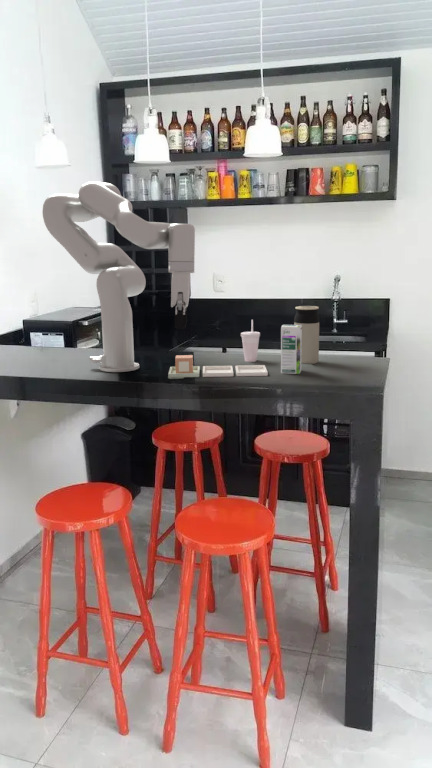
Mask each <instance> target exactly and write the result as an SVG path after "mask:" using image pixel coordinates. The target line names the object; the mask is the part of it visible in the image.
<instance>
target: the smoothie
mask: <svg viewBox="0 0 432 768" xmlns="http://www.w3.org/2000/svg"><path fill="white" fill-rule="evenodd" d="M250 322H251V329H250V331H243V332H240V337H241V340H242V341H241V342H242V351H243V356H244V358H243V359H244V362H247V363H254V362H257V359H258V350H259V344H260V343H259V342H260V337H261V332H259V331H254V319H251V321H250Z"/></svg>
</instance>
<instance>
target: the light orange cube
mask: <svg viewBox="0 0 432 768" xmlns="http://www.w3.org/2000/svg"><path fill="white" fill-rule="evenodd" d="M193 358H194V355H193V354H188V355H187V354H186V355H185V354H184V355H181V354H180V355H179V354H178V355H175V363H174V367H175V368H176V373H193V366H194V359H193Z"/></svg>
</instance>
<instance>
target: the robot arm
mask: <svg viewBox="0 0 432 768" xmlns="http://www.w3.org/2000/svg"><path fill="white" fill-rule="evenodd" d="M42 217H43V222H44V225H45V227H46V230H47V231H48V232H49V234H50V235H51V236H52V238H54V239H55V240H56V241H57V242H58V243H59V244H60V245H61V246H62V247H63V248H64V249H65V250H66V252H68V254H69V255H70V256H71V258H73V260H74V261H75V262H77V264H79V266H80V267H81V268H82V269H83V270H84V271H85V272H86V273H88V274H91V275H98V276H97V278H96V284H95V285H96V289H97V290H96V291H97V295H98V299H99V305H100V317H101V318H100V319H101V332H102V333H101V335H102V350H103V351H102V352H103V354H102V355H99V356H89V363H93V364H100V365H98V369H99V371H101V372H107V373H124V372H127V373H128V372H131V371H136V370H139V369H140V364H139V362H135V350H134V328H133V327H134V324H133V310H132V307H131V304H130V300H129V298H130V297H134V296H138V295H139V294H141V293H143V291H144V290H145V288H146V285H147V284H146V282H147V281H146V276H145V274H144V272H143V271H142V269H141V268H140V267H139V266H138V265H137V264H136V263H135V261H134V260H133V259H132V258H131V257H129V255H128V254H127V253H126V252H125V251H124V250H123V249H122V248H121V247H120V246H118V245H116V244H114V243H110V242H109V243H108V242H98V241H96V240H95V239H94V238H92V236H91V235H89V233H88V232H87V231H86V230H85V229H84V228H82V227H81V226H80V225H79V224H77V223H84V222H88V221H91V220H94V219H97V218H102V219H103V220H105V221H107V222H108V223H110V224H111V225H113V226H114V227H115V229H116V231H117V232H118V233H119V234H120V235H121V237H123V238H125V239H126V240H128V241H129V242H130V243H132V244H134V245H136V246H138V247H139V248H142V249H146V250H156V249H158V250H165V249H167V250H168V253H167V255H168V267H167V268H168V273H171V282H170V284H171V287H170V288H171V289H170V290H171V291H170V292H171V293H170V297H171V298H170V307H171V308H174V307H175V311H174V312H175V314H174V329H177V330H185V329H187V323H188V310H187V308H188V306H189V301H190V293H191V292H190V291H191V274H194V273H195V255H196V254H195V252H196V251H195V249H196V248H195V245H196V244H195V243H196V241H195V239H196V238H195V237H196V234H195V233H196V229H195V226H194V225H193V224H190V223H169V222H159V221H157V222H156V221H147V220H145V219H143V218H142V217H141V216H139V215H137V214H136V213H133V204H132V203H131V201H130V200H129V199H127V198H125V197H124V196H122V194H121V191H120V190H119V188H118V187H117V186H116V185H114V184H112V183H109V182H101V181H88V182H85V183H83V184H82V185H81V186H80V188H79V190H78V193H77V194H74V193H59V192H58V193H54V194H51V195H49V196H48V197H46V198H45V200H44V202H43V204H42Z"/></svg>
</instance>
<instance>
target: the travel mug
mask: <svg viewBox="0 0 432 768" xmlns="http://www.w3.org/2000/svg"><path fill="white" fill-rule="evenodd" d="M319 307H320V306H316V305H299V306H295V311H296V314H295V315H294V320H293V323H294V324H293V325H302V353H301V364H311V365H315V364H317V363H319V359H320V358H319V355H320V353H319V352H320V350H319V349H320V316H319V314H318V311H319V309H320V308H319Z"/></svg>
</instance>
